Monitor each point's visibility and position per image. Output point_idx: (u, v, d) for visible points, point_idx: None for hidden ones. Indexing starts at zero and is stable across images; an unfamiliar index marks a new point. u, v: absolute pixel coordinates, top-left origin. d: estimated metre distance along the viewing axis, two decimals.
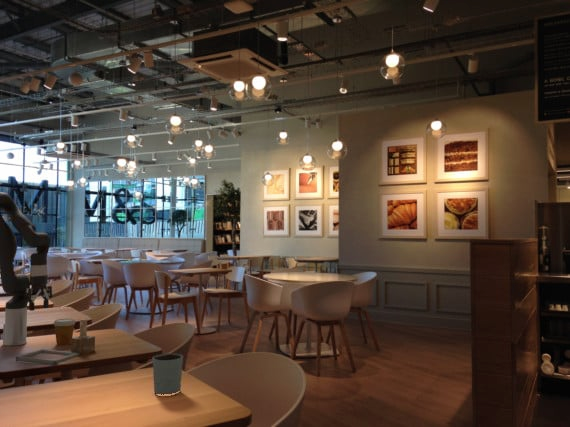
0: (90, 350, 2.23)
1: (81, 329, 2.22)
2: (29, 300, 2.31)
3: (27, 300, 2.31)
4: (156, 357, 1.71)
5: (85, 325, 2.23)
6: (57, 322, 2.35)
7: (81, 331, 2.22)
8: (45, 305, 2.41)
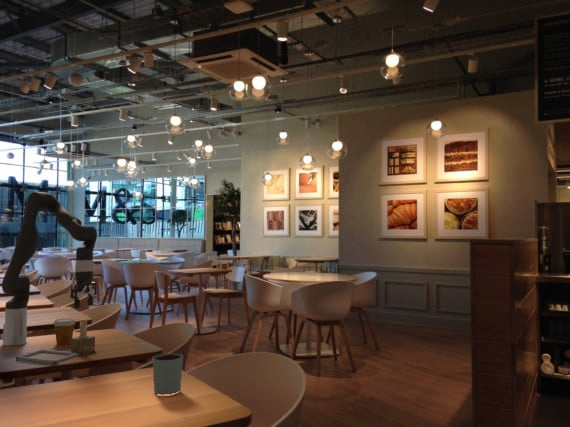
0: (90, 350, 2.23)
1: (81, 329, 2.22)
2: (75, 297, 2.17)
3: (73, 297, 2.17)
4: (156, 357, 1.71)
5: (85, 325, 2.23)
6: (57, 322, 2.35)
7: (81, 331, 2.22)
8: (90, 302, 2.28)
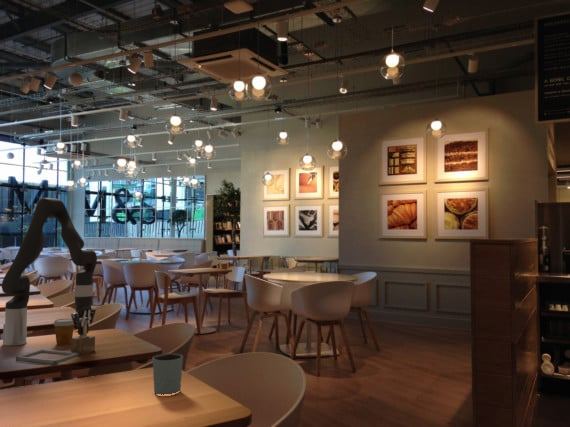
0: (90, 350, 2.23)
1: None
2: (79, 324, 2.19)
3: (76, 324, 2.19)
4: (156, 357, 1.71)
5: (85, 325, 2.23)
6: (57, 322, 2.35)
7: None
8: None
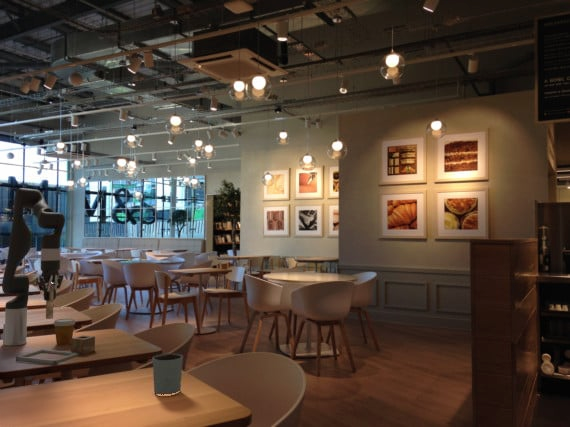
0: (90, 350, 2.23)
1: None
2: (44, 289, 2.10)
3: (42, 289, 2.10)
4: (156, 357, 1.71)
5: (52, 290, 2.13)
6: (57, 322, 2.35)
7: None
8: None
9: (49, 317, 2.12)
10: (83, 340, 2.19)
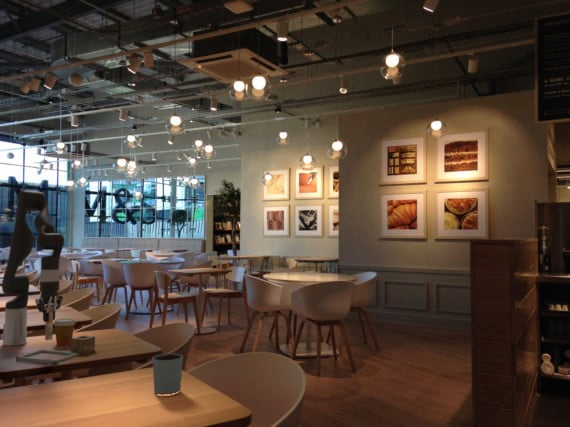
0: (90, 350, 2.23)
1: None
2: (43, 310, 2.09)
3: (41, 310, 2.09)
4: (156, 357, 1.71)
5: (51, 312, 2.13)
6: (57, 322, 2.35)
7: None
8: None
9: (48, 338, 2.12)
10: (83, 340, 2.19)
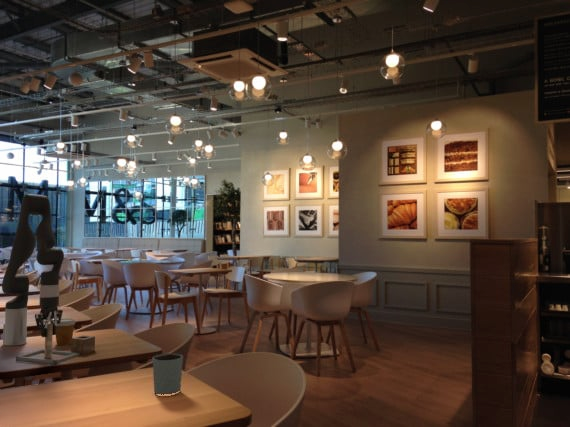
0: (90, 350, 2.23)
1: None
2: (42, 326, 2.08)
3: (39, 326, 2.08)
4: (156, 357, 1.71)
5: (51, 330, 2.13)
6: None
7: None
8: None
9: (48, 357, 2.12)
10: (83, 340, 2.19)
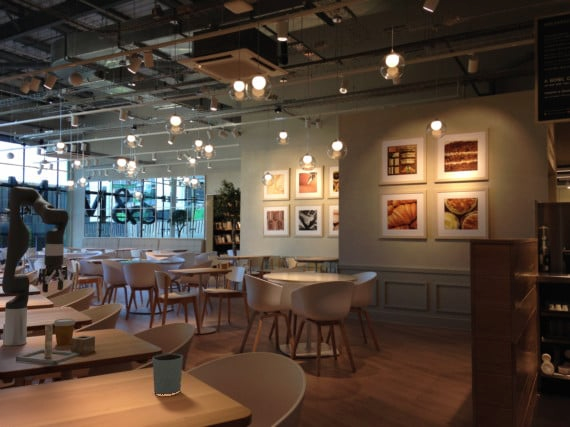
0: (90, 350, 2.23)
1: (46, 334, 2.12)
2: (43, 281, 2.14)
3: (41, 281, 2.14)
4: (156, 357, 1.71)
5: (50, 330, 2.13)
6: (57, 322, 2.35)
7: (46, 336, 2.12)
8: (59, 287, 2.25)
9: (48, 357, 2.12)
10: (83, 340, 2.19)
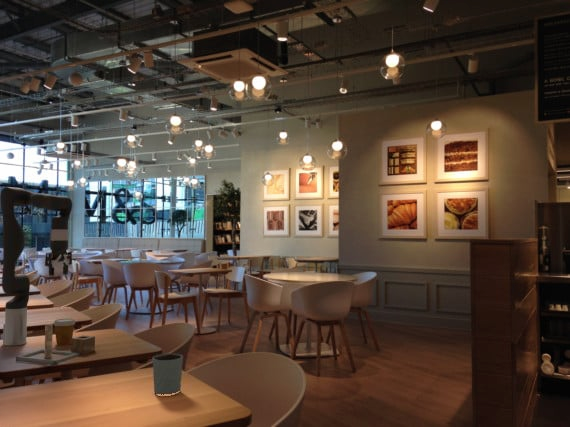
0: (90, 350, 2.23)
1: (46, 334, 2.12)
2: (49, 265, 2.23)
3: (47, 265, 2.23)
4: (156, 357, 1.71)
5: (50, 330, 2.13)
6: (57, 322, 2.35)
7: (46, 336, 2.12)
8: (65, 271, 2.34)
9: (48, 357, 2.12)
10: (83, 340, 2.19)
